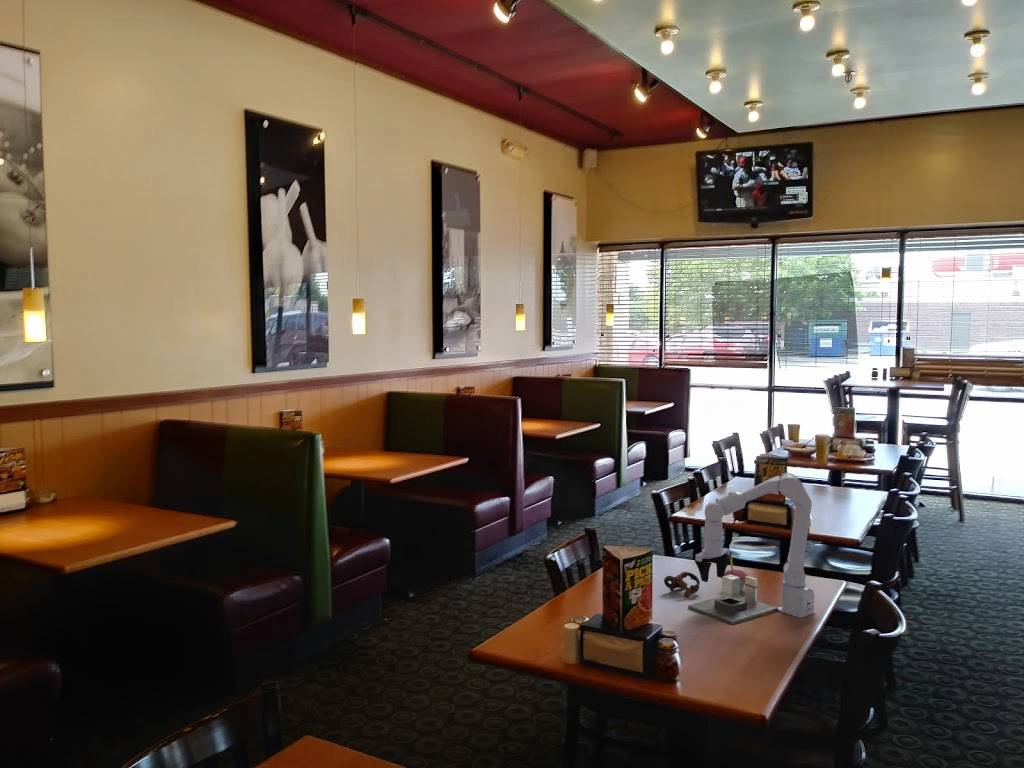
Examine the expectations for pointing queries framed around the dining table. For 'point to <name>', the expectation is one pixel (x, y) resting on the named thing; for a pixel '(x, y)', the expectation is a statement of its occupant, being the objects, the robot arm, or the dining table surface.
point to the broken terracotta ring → (682, 583)
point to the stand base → (735, 605)
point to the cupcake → (738, 574)
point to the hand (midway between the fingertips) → (712, 579)
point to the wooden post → (731, 586)
